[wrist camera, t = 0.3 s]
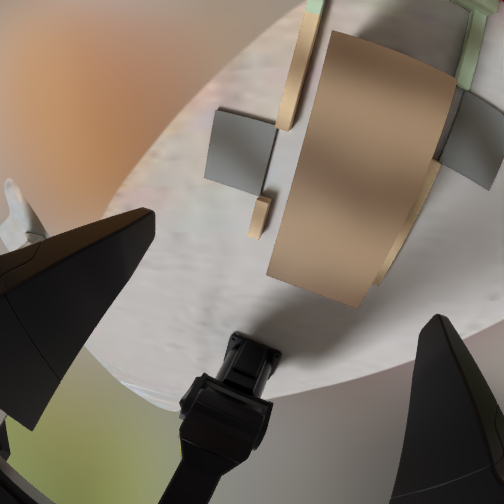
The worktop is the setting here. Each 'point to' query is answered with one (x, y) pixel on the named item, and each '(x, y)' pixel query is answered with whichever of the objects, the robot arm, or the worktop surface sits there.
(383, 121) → the walnut block
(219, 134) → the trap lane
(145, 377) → the worktop surface
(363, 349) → the worktop surface
